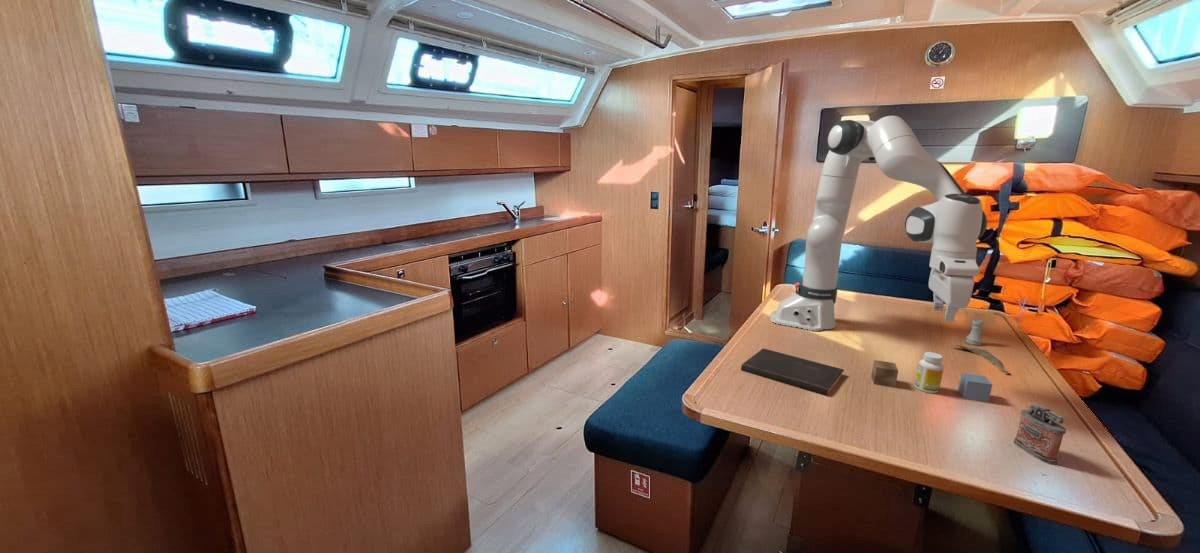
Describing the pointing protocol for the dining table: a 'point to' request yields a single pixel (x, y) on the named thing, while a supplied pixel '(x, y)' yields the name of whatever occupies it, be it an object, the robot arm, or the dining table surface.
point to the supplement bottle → (929, 373)
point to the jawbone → (986, 355)
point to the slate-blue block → (975, 387)
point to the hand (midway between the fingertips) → (942, 315)
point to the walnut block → (884, 373)
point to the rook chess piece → (975, 333)
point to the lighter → (1040, 433)
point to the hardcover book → (793, 371)
